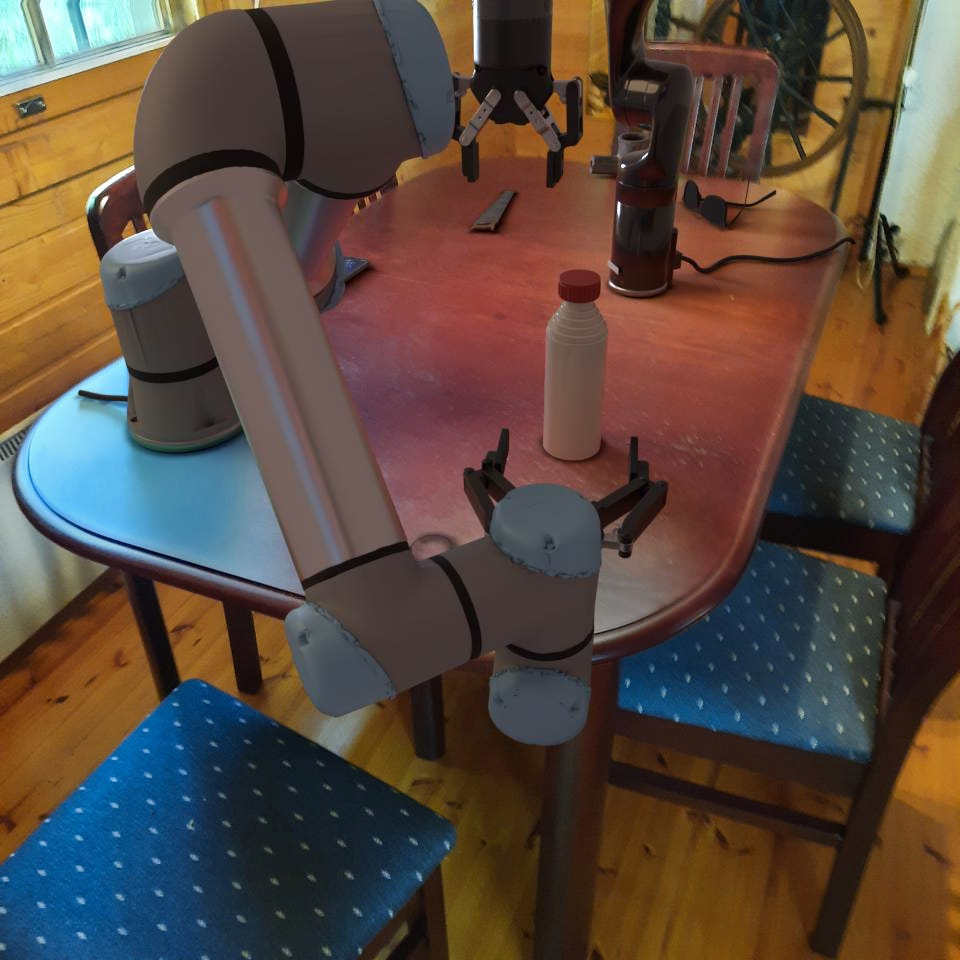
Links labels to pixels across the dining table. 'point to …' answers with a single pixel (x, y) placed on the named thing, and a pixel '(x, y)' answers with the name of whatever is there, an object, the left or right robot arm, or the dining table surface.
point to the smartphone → (354, 266)
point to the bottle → (574, 381)
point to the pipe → (619, 153)
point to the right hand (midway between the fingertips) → (511, 183)
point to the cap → (579, 286)
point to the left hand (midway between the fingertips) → (568, 442)
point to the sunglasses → (714, 204)
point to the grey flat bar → (493, 213)
